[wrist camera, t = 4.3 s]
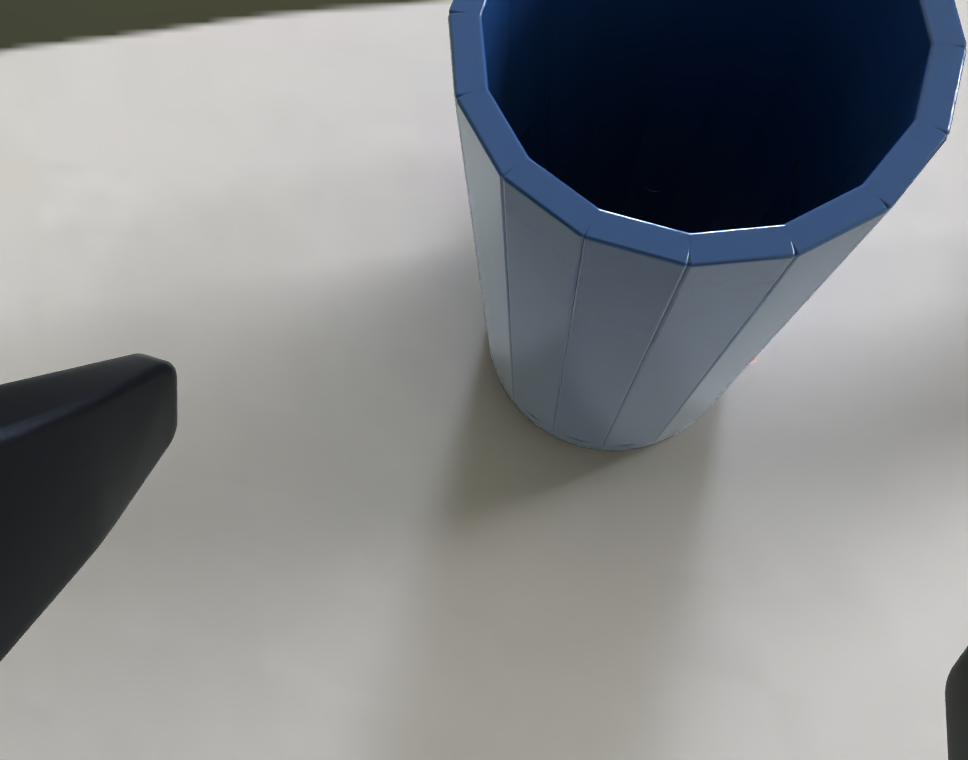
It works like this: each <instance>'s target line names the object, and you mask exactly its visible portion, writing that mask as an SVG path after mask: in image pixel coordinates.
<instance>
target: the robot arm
mask: <svg viewBox="0 0 968 760" xmlns="http://www.w3.org/2000/svg"><path fill="white" fill-rule="evenodd" d="M176 427H177V374H176V370H175V367H174V366H173V365H172V364H171V363H170V362H168V361H164V360H161V359H158V358H155V357H152V356H148V355H145V354H132V355H128V356H124V357H119V358H115V359H111V360H106V361H102V362H97V363H93V364H89V365H84V366H80V367H76V368H71V369H67V370H63V371H58V372H54V373H50V374H45V375H41V376H37V377H32V378H28V379H23V380H19V381H15V382H10V383H6V384H2V385H0V661H1V660H2V659H3V658H4V657H5V655H6V654H7V653H8V652H9V651H10V650H11V649H12V647H13V646H14V645H15V644H16V643H17V642H18V640H19V639H20V638H21V637H22V636H23V635H24V633H25V632H26V631H27V630H28V629H29V628H30V626H31V625H32V624H33V623H34V622H35V621H36V619H37V618H38V617H39V616H40V615H41V614H42V612H43V611H44V610H45V609H46V608H47V607H48V605H49V604H50V603H51V602H52V601H53V600H54V598H55V597H56V596H57V595H58V594H59V593H60V592H61V590H62V589H63V588H64V587H65V586H66V585H67V583H68V582H69V581H70V580H71V579H72V578H73V576H74V575H75V574H76V573H77V572H78V571H79V569H80V568H81V567H82V566H83V565H84V564H85V562H86V561H87V560H88V559H89V558H90V556H91V555H92V554H93V553H94V552H95V550H96V549H97V548H98V547H99V545H100V544H101V543H102V542H103V540H104V539H105V537H106V536H107V535H108V533H109V532H110V531H111V529H112V528H113V526H114V525H115V524H116V522H117V521H118V519H119V518H120V516H121V515H122V513H123V512H124V510H125V509H126V507H127V506H128V505H129V503H130V502H131V500H132V499H133V497H134V496H135V494H136V493H137V491H138V490H139V488H140V487H141V486H142V484H143V483H144V481H145V480H146V478H147V477H148V475H149V474H150V472H151V471H152V469H153V468H154V467H155V465H156V464H157V462H158V461H159V459H160V458H161V456H162V455H163V453H164V452H165V450H166V449H167V448H168V446H169V445H170V443H171V441H172V439H173V437H174V434H175V431H176ZM945 702H946V722H947V743H948V760H968V646H967V648H966V649H965V651H964V652H963V653H962V655H961V656H960V658H959V659H958V660H957V662H956V663H955V665H954V666H953V667H952V669H951V671H950V673H949V675H948V678H947V682H946V688H945Z"/></svg>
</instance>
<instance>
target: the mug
mask: <svg viewBox="0 0 968 760" xmlns="http://www.w3.org/2000/svg"><path fill="white" fill-rule="evenodd" d="M448 24H449V36H450V49H451V61H452V74H453V86H454V97H455V105H456V112H457V119H458V126H459V133H460V141H461V148H462V155H463V162H464V169H465V177H466V184H467V191H468V198H469V205H470V213H471V220H472V227H473V234H474V241H475V249H476V256H477V263H478V270H479V278H480V285H481V292H482V299H483V306H484V314H485V321H486V328H487V335H488V342H489V350H490V355H491V359H492V361H493V363H494V366H495V369H496V372H497V375H498V377H499V379H500V381H501V383H502V386H503V387H504V389H505V390H506V392H507V394H508V395H509V397H510V398H511V400H512V401H513V402H514V403H515V405H516V406H517V407H518V408H519V409H520V411H521V412H522V413H523V414H525V415H526V416H527V417H528V418H529V419H530V420H531V421H532V422H533V423H535V424H536V425H537V426H539V427H540V428H542V429H543V430H545V431H546V432H548V433H550V434H552V435H553V436H555V437H557V438H559V439H561V440H564V441H566V442H569V443H572V444H574V445H578V446H582V447H586V448H590V449H598V450H608V451H612V450H629V449H636V448H642V447H645V446H649V445H652V444H656V443H658V442H661V441H663V440H665V439H667V438H670V437H672V436H673V435H675V434H677V433H678V432H680V431H682V430H683V429H685V428H686V427H687V426H689V425H690V424H691V423H692V422H694V421H696V420H698V418H700V417H701V416H702V415H703V414H704V413H705V412H706V411H707V410H708V408H709V407H710V406H711V405H712V404H713V403H714V402H715V401H716V400H717V399H718V398H719V396H720V395H721V394H722V393H723V392H724V391H725V390H726V389H727V388H728V387H729V386H730V384H731V383H732V382H733V381H734V380H735V379H736V378H737V377H738V376H739V375H740V373H741V372H742V371H743V370H744V369H745V368H746V367H747V366H748V365H749V364H750V363H751V361H752V360H753V359H754V358H755V357H756V356H757V355H758V354H759V353H760V352H761V350H762V349H763V348H764V347H765V346H766V345H767V344H768V343H769V342H770V341H771V340H772V338H773V337H774V336H775V335H776V334H777V333H778V332H779V331H780V330H781V329H782V328H783V326H784V325H785V324H786V323H787V322H788V321H789V320H790V319H791V318H792V317H793V315H794V314H795V313H796V312H797V311H798V310H799V309H800V308H801V307H802V306H803V305H804V303H805V302H806V301H807V300H808V299H809V298H810V297H811V296H812V295H813V294H814V292H815V291H816V290H817V289H818V288H819V287H820V286H821V285H822V284H823V283H824V282H825V280H826V279H827V278H828V277H829V276H830V275H831V274H832V273H833V272H834V271H835V270H836V268H837V267H838V266H839V265H840V264H841V263H842V262H843V261H844V260H845V259H846V257H847V256H848V255H849V254H850V253H851V252H852V251H853V250H854V249H855V248H856V247H857V245H858V244H859V243H860V242H861V241H862V240H863V239H864V238H865V237H866V236H867V234H868V233H869V232H870V231H871V230H872V229H873V228H874V227H875V226H876V225H877V224H878V222H879V221H880V220H881V219H882V218H883V217H884V216H885V215H886V214H887V213H888V212H889V210H890V209H891V208H892V207H893V206H894V205H895V203H896V202H897V201H898V200H899V198H900V197H901V196H902V195H903V193H904V192H905V191H906V190H907V188H908V187H909V186H910V185H911V183H912V182H913V181H914V179H915V178H916V177H917V176H918V174H919V173H920V172H921V171H922V169H923V168H924V167H925V166H926V164H927V163H928V162H929V161H930V159H931V158H932V157H933V156H934V154H935V153H936V152H937V151H938V149H939V148H940V147H941V146H942V144H943V143H944V142H945V141H946V139H947V135H948V134H949V133H950V128H951V123H952V118H953V114H954V109H955V104H956V99H957V94H958V89H959V85H960V80H961V75H962V70H963V65H964V60H965V56H966V49H965V48H966V41H965V37H964V34H963V30H962V26H961V23H960V19H959V15H958V12H957V8H956V4H955V1H954V0H453V2H452V4H451V7H450V10H449V17H448Z"/></svg>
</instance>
